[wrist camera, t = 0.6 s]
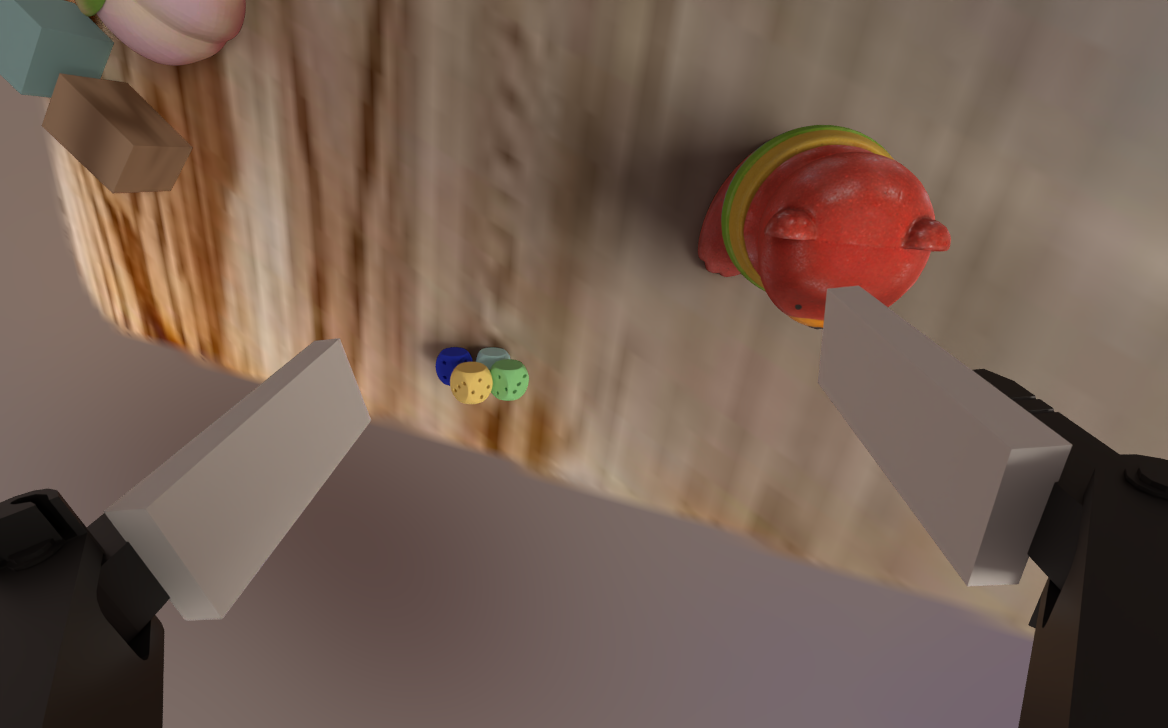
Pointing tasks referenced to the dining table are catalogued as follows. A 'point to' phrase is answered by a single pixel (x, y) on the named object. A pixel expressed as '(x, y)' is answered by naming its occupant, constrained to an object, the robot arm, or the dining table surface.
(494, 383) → the dice
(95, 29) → the teal block
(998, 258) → the dining table surface
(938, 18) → the dining table surface
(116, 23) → the decorative fruit
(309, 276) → the dining table surface
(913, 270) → the stacking bear
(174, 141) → the walnut block
